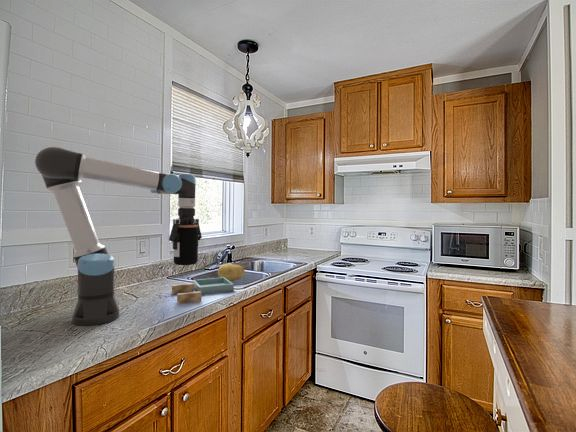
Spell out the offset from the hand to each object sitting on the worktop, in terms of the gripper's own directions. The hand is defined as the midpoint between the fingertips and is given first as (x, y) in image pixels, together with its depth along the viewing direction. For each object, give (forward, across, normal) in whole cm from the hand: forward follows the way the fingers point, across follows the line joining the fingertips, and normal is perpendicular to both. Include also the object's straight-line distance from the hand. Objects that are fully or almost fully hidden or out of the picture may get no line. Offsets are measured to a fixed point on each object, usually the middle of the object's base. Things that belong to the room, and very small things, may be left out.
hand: (185, 255), depth 150 cm
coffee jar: (+4, 0, 0) cm, 4 cm away
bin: (+19, +18, -1) cm, 27 cm away
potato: (+20, +38, +3) cm, 43 cm away
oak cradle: (+20, 0, 0) cm, 20 cm away
